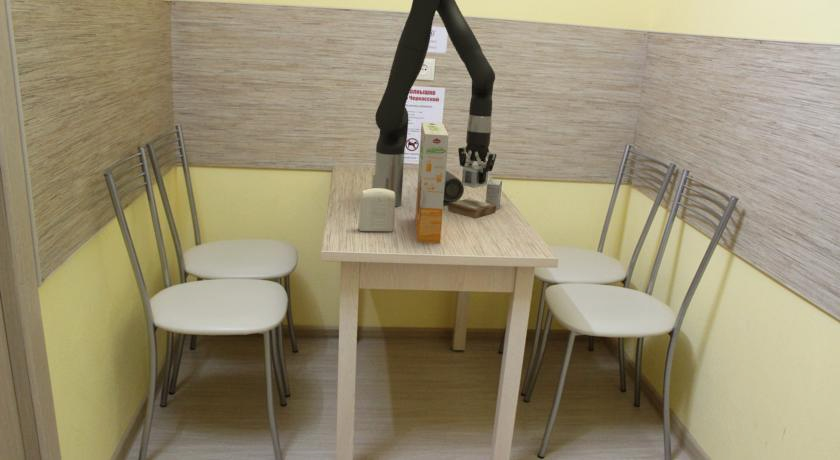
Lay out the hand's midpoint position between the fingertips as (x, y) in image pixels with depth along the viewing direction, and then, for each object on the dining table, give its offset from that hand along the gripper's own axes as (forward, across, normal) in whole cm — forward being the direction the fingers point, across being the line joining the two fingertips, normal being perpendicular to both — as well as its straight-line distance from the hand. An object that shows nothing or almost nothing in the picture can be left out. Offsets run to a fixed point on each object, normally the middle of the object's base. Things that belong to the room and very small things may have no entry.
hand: (474, 181), depth 218 cm
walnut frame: (+10, 0, 0) cm, 10 cm away
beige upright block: (+10, -4, -40) cm, 41 cm away
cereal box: (+10, +5, -28) cm, 30 cm away
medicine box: (+10, 0, +12) cm, 16 cm away
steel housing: (+1, 0, 0) cm, 1 cm away
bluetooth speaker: (+10, -19, +6) cm, 23 cm away
